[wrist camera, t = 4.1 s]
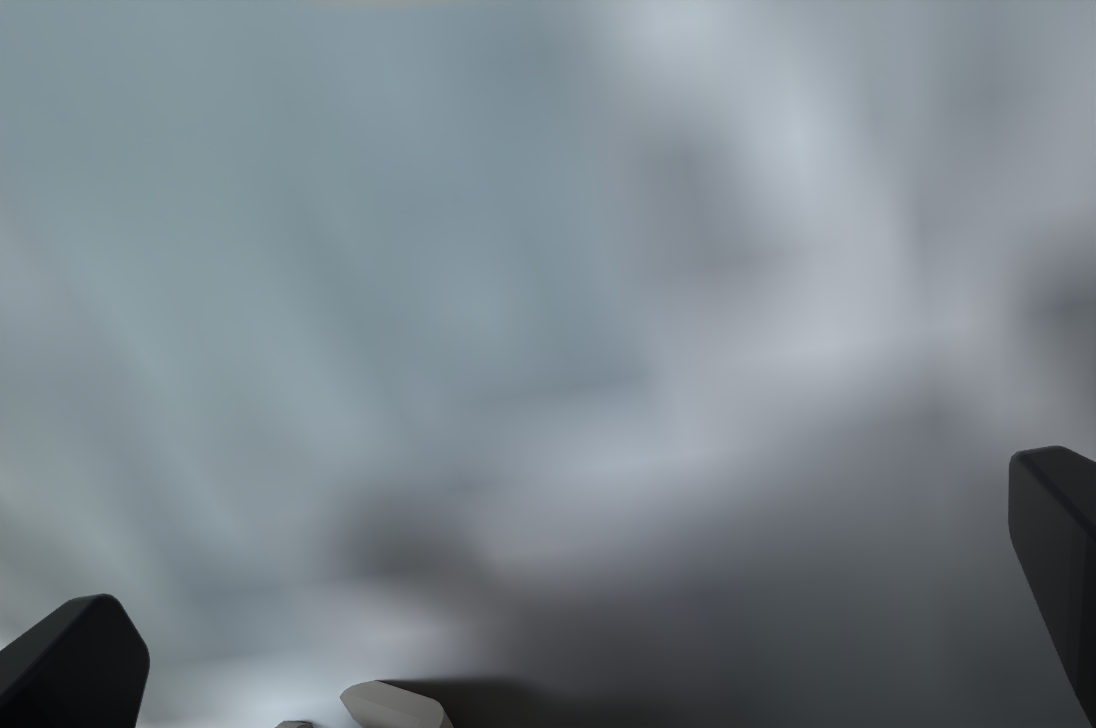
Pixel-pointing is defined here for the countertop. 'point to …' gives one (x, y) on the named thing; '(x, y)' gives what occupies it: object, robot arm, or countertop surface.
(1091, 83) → the countertop surface
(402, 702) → the bracket
